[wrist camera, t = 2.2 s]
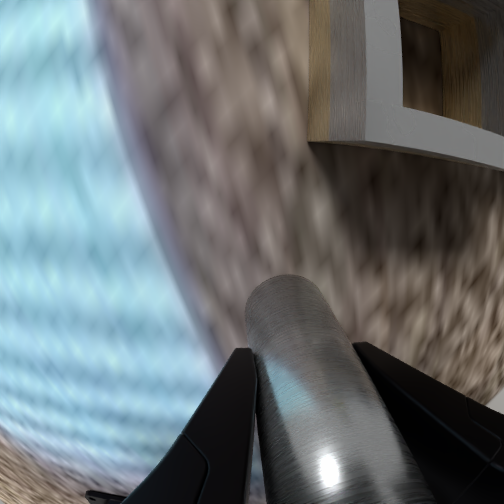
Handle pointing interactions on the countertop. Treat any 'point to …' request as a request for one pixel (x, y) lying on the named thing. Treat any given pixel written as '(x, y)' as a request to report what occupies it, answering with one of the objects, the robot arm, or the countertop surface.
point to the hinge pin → (321, 407)
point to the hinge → (391, 78)
